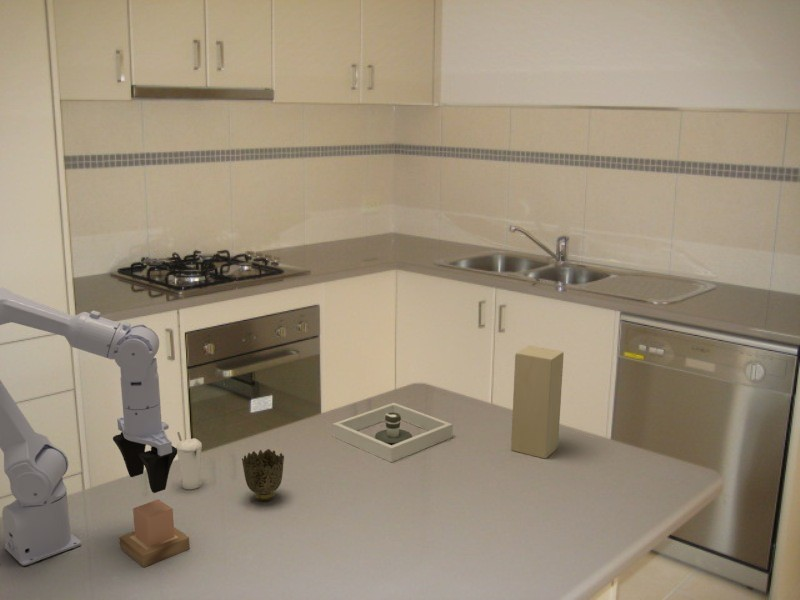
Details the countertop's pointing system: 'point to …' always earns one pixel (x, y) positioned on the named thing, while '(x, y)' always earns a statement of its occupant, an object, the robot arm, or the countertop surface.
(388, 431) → the coffee cup
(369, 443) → the cup tray
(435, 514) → the countertop surface
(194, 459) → the milkshake
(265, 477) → the cup
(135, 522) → the block
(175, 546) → the base slab
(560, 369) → the tan tall block
